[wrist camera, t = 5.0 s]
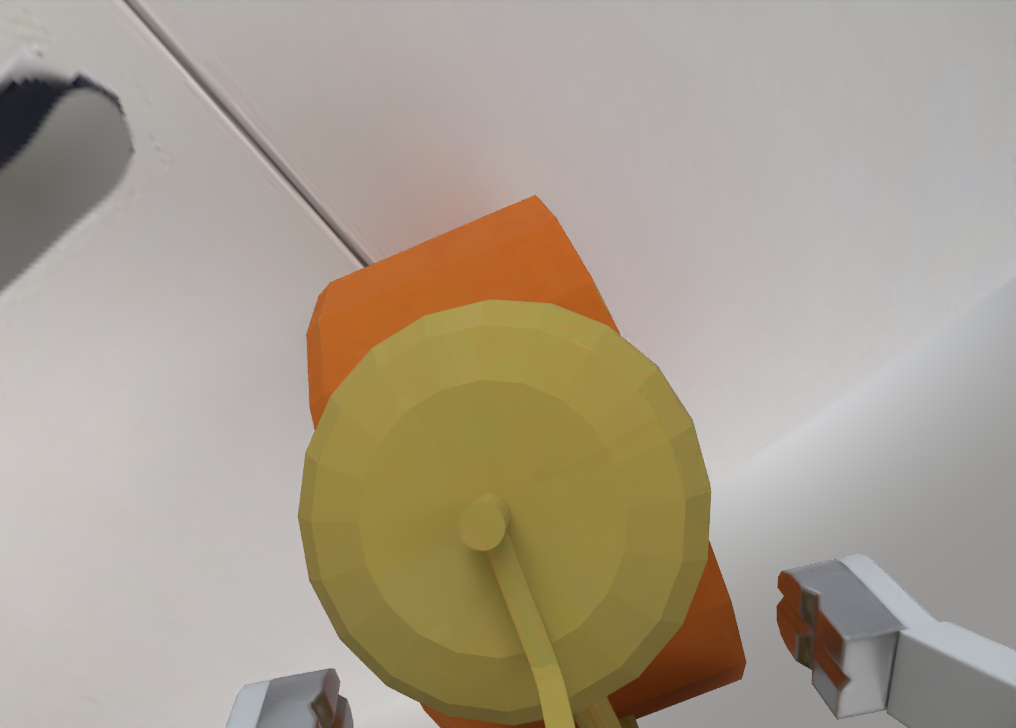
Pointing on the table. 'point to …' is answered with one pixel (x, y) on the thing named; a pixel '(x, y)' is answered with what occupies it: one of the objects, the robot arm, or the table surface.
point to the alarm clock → (507, 490)
